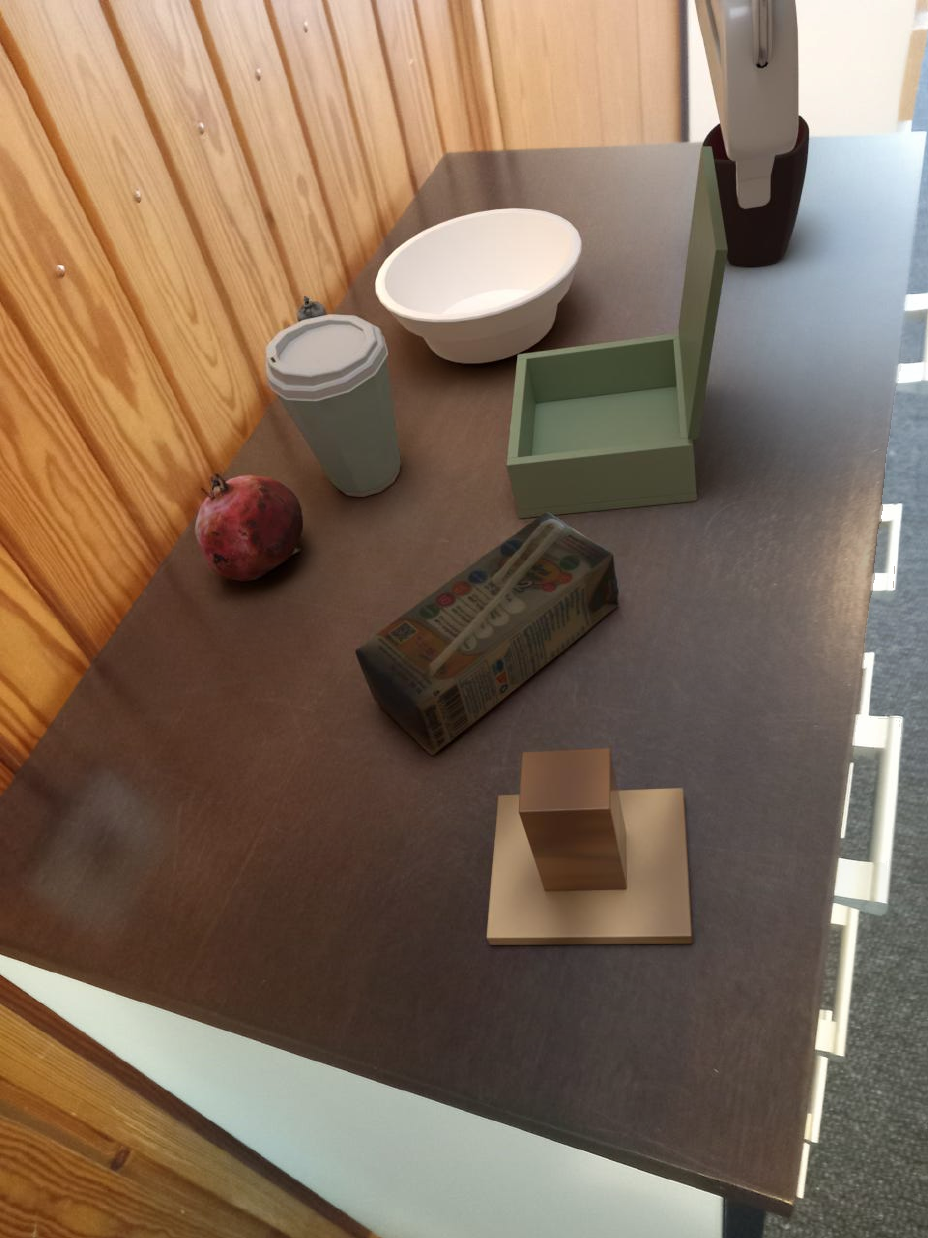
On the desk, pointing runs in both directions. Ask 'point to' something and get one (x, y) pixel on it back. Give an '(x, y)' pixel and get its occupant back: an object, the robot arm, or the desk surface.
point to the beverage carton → (488, 630)
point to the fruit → (248, 526)
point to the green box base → (600, 428)
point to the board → (597, 916)
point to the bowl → (482, 282)
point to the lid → (701, 290)
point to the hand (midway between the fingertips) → (744, 165)
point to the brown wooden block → (574, 819)
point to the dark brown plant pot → (766, 227)
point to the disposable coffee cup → (339, 398)
